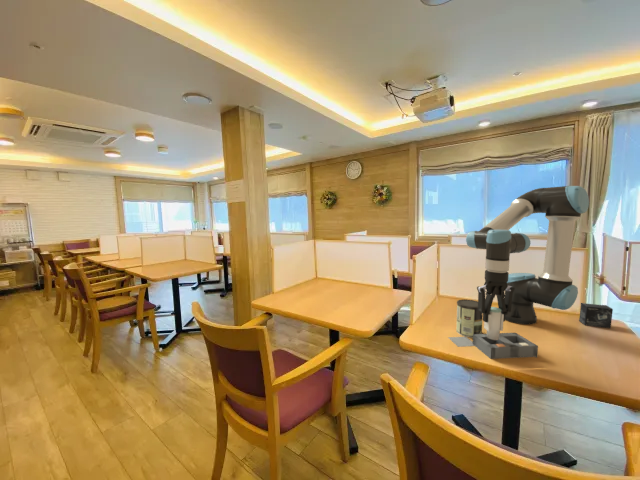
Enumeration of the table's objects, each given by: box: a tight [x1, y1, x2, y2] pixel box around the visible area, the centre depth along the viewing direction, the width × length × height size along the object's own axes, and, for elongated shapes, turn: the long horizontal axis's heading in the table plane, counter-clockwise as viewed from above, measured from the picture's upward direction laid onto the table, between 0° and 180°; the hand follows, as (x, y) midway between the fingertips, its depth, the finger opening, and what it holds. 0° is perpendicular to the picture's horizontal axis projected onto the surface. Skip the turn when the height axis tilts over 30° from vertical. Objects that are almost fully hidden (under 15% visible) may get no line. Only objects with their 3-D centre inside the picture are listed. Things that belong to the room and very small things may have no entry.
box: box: [578, 302, 614, 329], centre depth 126 cm, size 9×6×10 cm, turn 68°
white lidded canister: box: [486, 306, 501, 340], centre depth 104 cm, size 4×4×12 cm
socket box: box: [472, 332, 539, 360], centre depth 105 cm, size 18×11×5 cm, turn 93°
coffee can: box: [455, 299, 483, 339], centre depth 120 cm, size 10×10×14 cm
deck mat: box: [447, 336, 475, 348], centre depth 113 cm, size 8×8×1 cm
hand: (493, 329), depth 104 cm, fingers closed on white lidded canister, 4 cm apart
